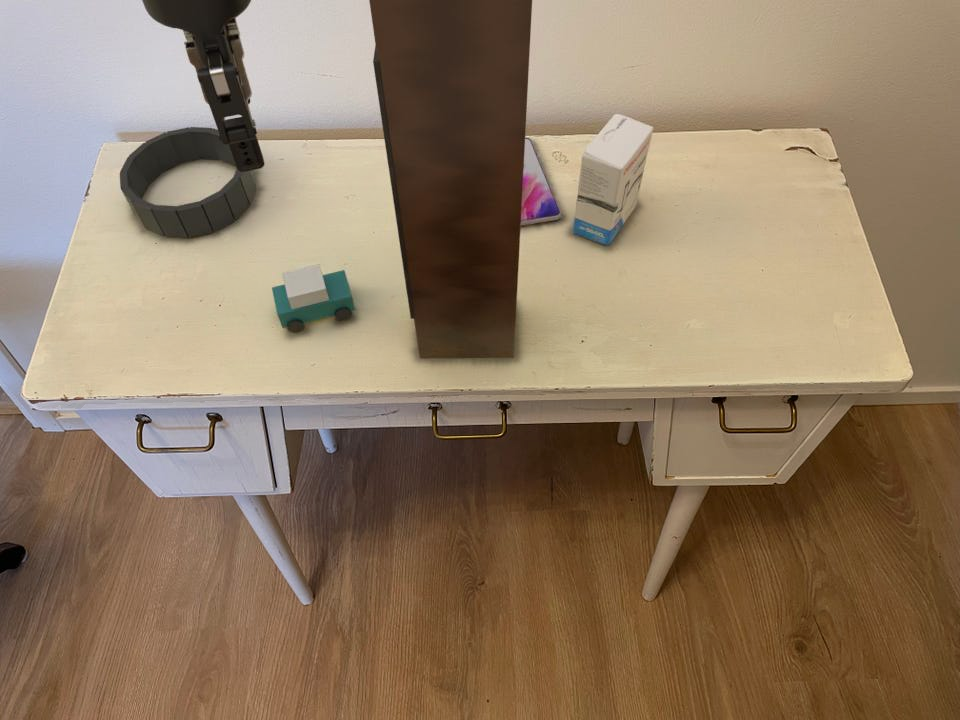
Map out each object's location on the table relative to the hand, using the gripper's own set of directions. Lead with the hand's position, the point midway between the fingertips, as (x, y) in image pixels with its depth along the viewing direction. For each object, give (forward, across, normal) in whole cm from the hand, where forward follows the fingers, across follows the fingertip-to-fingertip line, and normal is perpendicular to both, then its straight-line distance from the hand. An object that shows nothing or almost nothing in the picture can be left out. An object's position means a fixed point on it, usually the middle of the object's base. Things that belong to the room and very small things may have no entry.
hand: (244, 135), depth 61 cm
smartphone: (+23, -11, +29) cm, 39 cm away
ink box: (+23, -2, +38) cm, 44 cm away
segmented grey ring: (+24, -22, -10) cm, 34 cm away
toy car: (+24, +1, +2) cm, 24 cm away
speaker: (+23, +9, +16) cm, 30 cm away
